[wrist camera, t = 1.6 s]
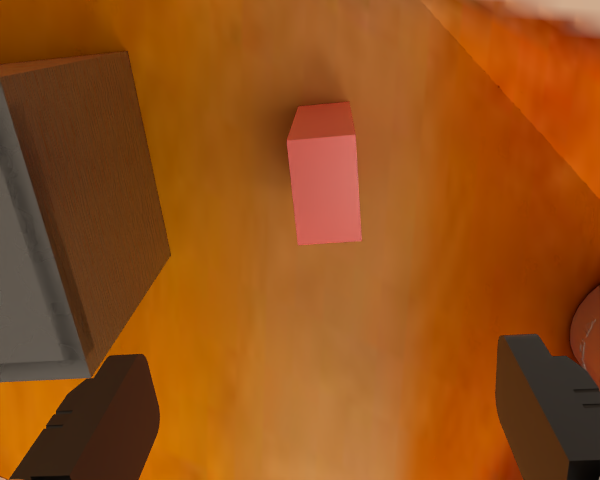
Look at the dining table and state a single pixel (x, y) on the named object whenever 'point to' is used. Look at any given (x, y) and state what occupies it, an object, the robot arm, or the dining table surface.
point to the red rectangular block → (324, 174)
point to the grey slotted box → (72, 214)
